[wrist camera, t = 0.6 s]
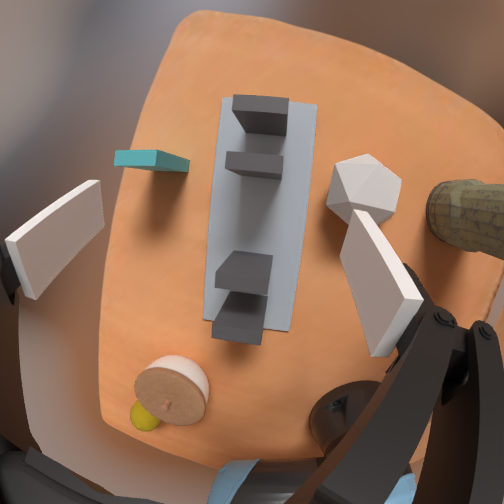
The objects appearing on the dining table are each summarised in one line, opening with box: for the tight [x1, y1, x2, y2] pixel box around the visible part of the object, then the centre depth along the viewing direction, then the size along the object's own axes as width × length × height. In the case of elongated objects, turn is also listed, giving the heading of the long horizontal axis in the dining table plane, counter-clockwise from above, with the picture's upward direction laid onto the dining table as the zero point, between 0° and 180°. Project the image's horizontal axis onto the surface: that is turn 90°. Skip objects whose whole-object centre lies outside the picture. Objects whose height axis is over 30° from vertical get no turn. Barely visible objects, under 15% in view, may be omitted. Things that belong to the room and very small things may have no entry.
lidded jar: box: [135, 355, 209, 426], centre depth 36 cm, size 11×11×9 cm
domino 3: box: [214, 250, 273, 295], centre depth 31 cm, size 2×5×10 cm, turn 84°
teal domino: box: [114, 150, 190, 172], centre depth 30 cm, size 2×5×10 cm, turn 84°
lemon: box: [130, 400, 161, 431], centre depth 39 cm, size 6×6×8 cm
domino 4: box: [212, 291, 268, 345], centre depth 32 cm, size 2×5×10 cm, turn 84°
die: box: [326, 154, 402, 225], centre depth 29 cm, size 8×9×10 cm
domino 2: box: [225, 151, 283, 180], centre depth 28 cm, size 2×5×10 cm, turn 84°
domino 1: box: [232, 95, 289, 137], centre depth 27 cm, size 2×5×10 cm, turn 84°
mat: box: [203, 97, 317, 331], centre depth 34 cm, size 30×12×1 cm, turn 174°
